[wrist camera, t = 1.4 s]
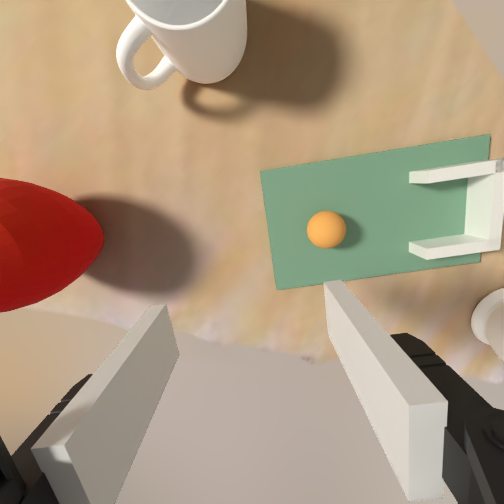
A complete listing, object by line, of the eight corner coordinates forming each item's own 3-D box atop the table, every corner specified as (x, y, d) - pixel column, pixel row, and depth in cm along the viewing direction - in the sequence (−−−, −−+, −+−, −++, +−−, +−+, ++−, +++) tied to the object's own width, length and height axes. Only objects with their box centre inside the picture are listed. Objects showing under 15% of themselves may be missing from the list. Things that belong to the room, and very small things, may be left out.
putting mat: (260, 171, 28) (260, 171, 28) (485, 135, 27) (490, 133, 27) (276, 288, 32) (276, 290, 31) (475, 260, 31) (479, 262, 30)
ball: (301, 211, 29) (309, 216, 25) (337, 206, 29) (350, 210, 25) (305, 245, 30) (313, 255, 26) (340, 240, 30) (352, 249, 26)
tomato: (22, 269, 32) (-154, 336, 18) (8, 173, 29) (-217, 166, 15) (125, 278, 32) (28, 352, 18) (121, 184, 29) (2, 186, 15)
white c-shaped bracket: (409, 171, 28) (428, 170, 25) (480, 160, 27) (509, 157, 24) (408, 251, 30) (426, 259, 27) (474, 242, 30) (500, 249, 27)
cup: (265, 38, 25) (272, -54, 15) (184, 132, 27) (145, 105, 18) (202, -38, 24) (164, -193, 14) (122, 69, 26) (42, 1, 16)
